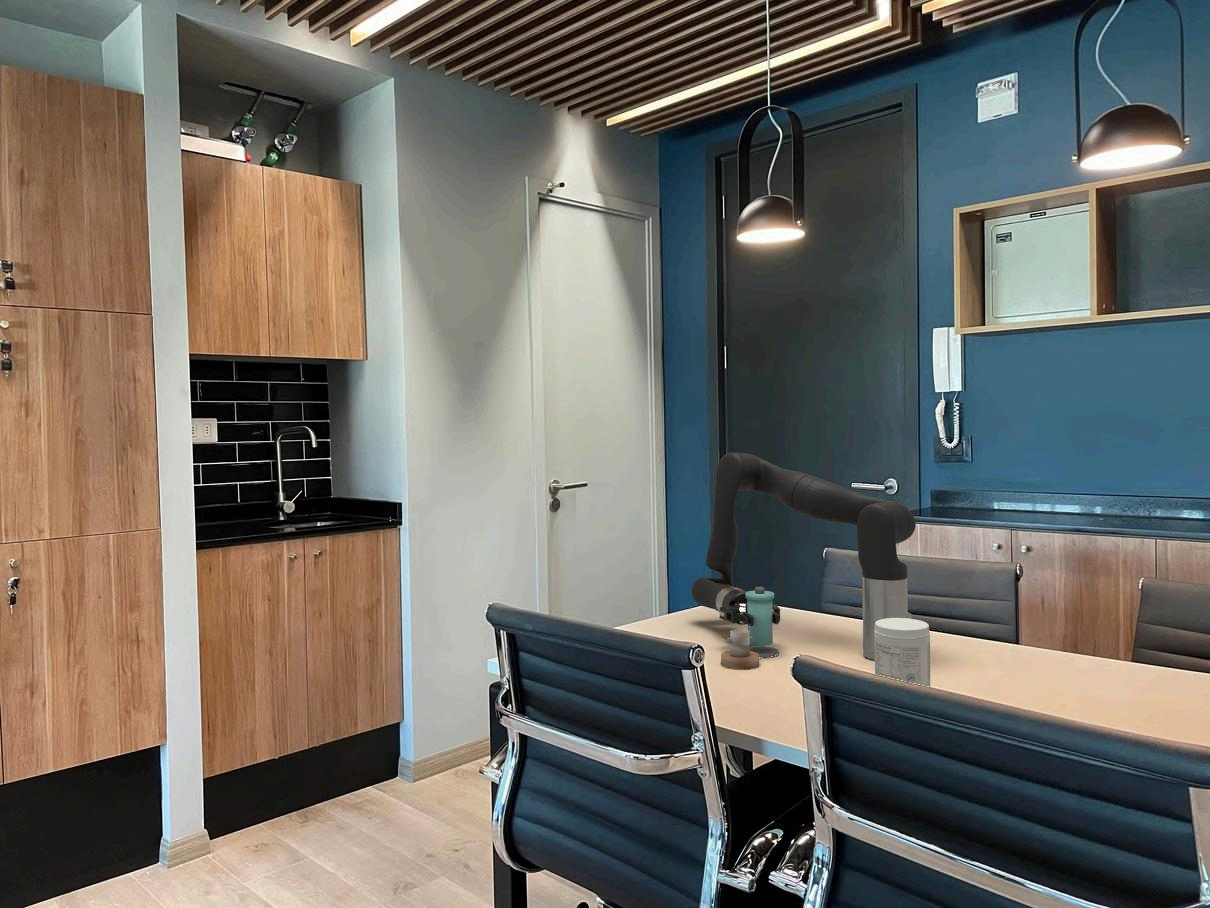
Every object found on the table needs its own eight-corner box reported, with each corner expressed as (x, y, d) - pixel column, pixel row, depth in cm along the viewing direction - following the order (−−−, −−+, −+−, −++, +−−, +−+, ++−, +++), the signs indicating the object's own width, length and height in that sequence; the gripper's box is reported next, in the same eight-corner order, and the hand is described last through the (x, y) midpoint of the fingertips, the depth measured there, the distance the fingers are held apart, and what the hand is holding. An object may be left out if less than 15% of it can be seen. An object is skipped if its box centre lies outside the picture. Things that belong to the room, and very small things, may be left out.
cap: (767, 638, 203) (767, 584, 202) (779, 645, 197) (778, 589, 196) (741, 640, 202) (741, 585, 201) (752, 647, 196) (751, 591, 195)
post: (750, 658, 196) (750, 625, 195) (765, 667, 188) (765, 634, 188) (715, 660, 194) (715, 628, 194) (729, 670, 186) (728, 637, 186)
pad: (770, 647, 204) (770, 645, 204) (785, 656, 196) (784, 653, 196) (736, 650, 202) (736, 647, 202) (750, 659, 195) (750, 656, 194)
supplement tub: (894, 693, 169) (894, 614, 169) (941, 704, 162) (941, 623, 162) (863, 703, 163) (863, 622, 163) (911, 716, 156) (910, 631, 155)
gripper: (707, 590, 211) (733, 605, 195) (764, 587, 214) (795, 601, 198) (707, 622, 212) (733, 640, 195) (764, 618, 215) (795, 635, 198)
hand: (764, 620), depth 197 cm, fingers closed on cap, 5 cm apart
